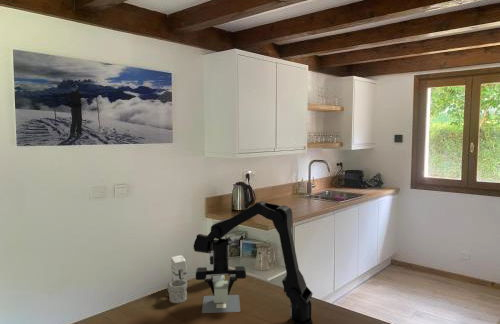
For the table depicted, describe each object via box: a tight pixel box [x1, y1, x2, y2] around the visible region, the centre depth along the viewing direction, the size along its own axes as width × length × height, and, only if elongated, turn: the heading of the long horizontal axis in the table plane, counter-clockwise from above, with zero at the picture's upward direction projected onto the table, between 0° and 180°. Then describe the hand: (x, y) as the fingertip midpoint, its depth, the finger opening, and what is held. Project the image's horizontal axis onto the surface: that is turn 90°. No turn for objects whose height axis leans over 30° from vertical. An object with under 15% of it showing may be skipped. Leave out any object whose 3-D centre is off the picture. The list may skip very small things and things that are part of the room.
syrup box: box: [208, 251, 226, 284], centre depth 160 cm, size 6×6×14 cm
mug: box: [167, 280, 188, 304], centre depth 143 cm, size 10×7×7 cm
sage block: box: [213, 280, 229, 303], centre depth 139 cm, size 5×8×5 cm, turn 4°
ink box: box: [170, 255, 188, 283], centre depth 155 cm, size 9×5×12 cm, turn 25°
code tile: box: [201, 294, 241, 314], centre depth 139 cm, size 14×14×1 cm
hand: (221, 294), depth 139 cm, fingers closed on sage block, 5 cm apart
